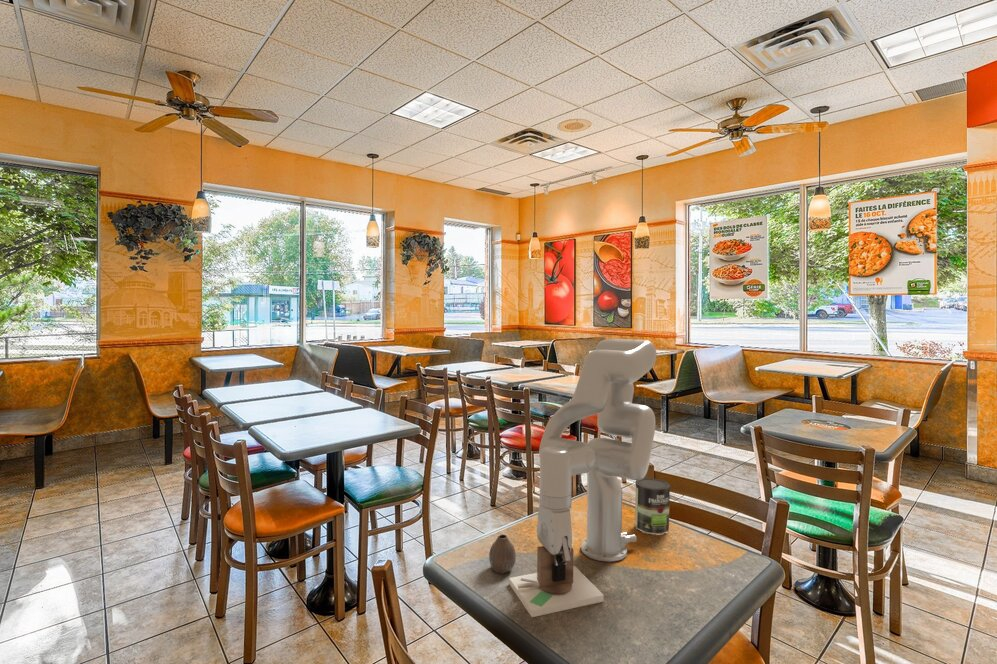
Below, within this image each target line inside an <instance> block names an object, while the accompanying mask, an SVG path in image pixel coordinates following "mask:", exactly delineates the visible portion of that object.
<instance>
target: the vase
mask: <svg viewBox="0 0 997 664" xmlns="http://www.w3.org/2000/svg"><path fill="white" fill-rule="evenodd" d="M516 554H517V552H516V549H515V546H514V544H513V543H512V542H511V541H510V540H509V538H508V536H507V534H499V535H498V536H497V538H496V540H495V541H494V542H493V543H492V544H491V546H490V549H489V554H488V556H489V557H488V561H489V564H490V567H491V569H493V570H494V571H495V572H496V573H498V574H508V573H509V572H510V571H512V570H513V568H514V567H515V564H516V558H517V555H516Z"/></svg>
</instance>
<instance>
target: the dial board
mask: <svg viewBox="0 0 997 664" xmlns="http://www.w3.org/2000/svg"><path fill="white" fill-rule="evenodd" d="M508 578H509V579H508V580H509V581H508V585H509V586H510V588H511V589H512V590H513V592H514V594H516V596H517V598H518V599H519V601H520V602H521V603H522V605H523V606H524V608H525V610H526V611H527V612H528V614H529V616H530V617H531V618H534V617H535V618H536V617H539V616H544V615H545V616H546V615H548V614H549V615H550V614H554V613H559V612H562V611H567V610H571V609H574V608H575V609H576V608H580V607H585V606H589V605H594V604H600V603H604V602H605V601H604V597H605V595H604V594H603V593H602V592H601V591H600V590H599V588H598V587H596V586H595V585H594V583H592V581H590V580H589V578H587V577H586V576H585V575H584V574H583V572H581V571H580V570H579V568H578V567H576V565H573V583H572V588H571V590H570V591H568V592H567V593H564V594H550V593H547V592H545V591H543V590H541V589H540V588H539V587H533V588H523V589H518V584H524V583H535V582H538V580H537V572H534V573H529V574H522V575H519V576H518V575H517V576H514V577H508Z"/></svg>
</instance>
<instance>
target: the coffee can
mask: <svg viewBox="0 0 997 664" xmlns="http://www.w3.org/2000/svg"><path fill="white" fill-rule="evenodd" d="M670 492H671V485H670V483H668V482H667V481H665V480H662V479H659V478H653V477H652V478H651V477H650V478H649V477H648V478H647V477H644V478H643V479H641V480H635V508H634V510H635V511H634V512H635V516H634V517H635V518H634V528H635V527H636V528H635V530H637V529H638V530H640V531H642V532H644V533H643V534H645V533H647V534H646V535H648V534H664V533H666V532H668V531H669V532H670V495H671V493H670ZM638 530H637V531H638ZM640 531H639V532H640ZM642 532H641V533H642ZM669 532H668V533H669Z"/></svg>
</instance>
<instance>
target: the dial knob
mask: <svg viewBox="0 0 997 664" xmlns="http://www.w3.org/2000/svg"><path fill="white" fill-rule="evenodd" d="M536 550H537V554H536V555H537V556H536V557H537V558H536V559H537V561H536V562H537V563H536V566H537V567H536V568H537V569H536V573H537V580H538V582H535V583H524V584H518V589H523V588H533V587H539V588H540V589H541V590H543V591H545V592H547V593H550V594H564V593H567V592H568V591H570V590H571V588H572V583H573V566H574V548H573V547H571V551H570V552H569V554H570V561H567V563H566V565H565V580H562V581H557V582H553V581H552V564H554V558H553V555H552V554H551V553H550V552H549V551H548V550H547V549H546V548H545V547H544V546H543V545H542V546H537V548H536ZM560 550H561V549H560ZM557 556H558V558H559V557H561V556H562V554H559V555H557Z"/></svg>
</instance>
